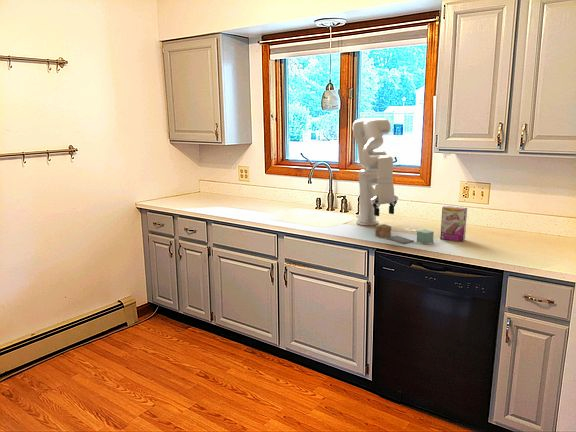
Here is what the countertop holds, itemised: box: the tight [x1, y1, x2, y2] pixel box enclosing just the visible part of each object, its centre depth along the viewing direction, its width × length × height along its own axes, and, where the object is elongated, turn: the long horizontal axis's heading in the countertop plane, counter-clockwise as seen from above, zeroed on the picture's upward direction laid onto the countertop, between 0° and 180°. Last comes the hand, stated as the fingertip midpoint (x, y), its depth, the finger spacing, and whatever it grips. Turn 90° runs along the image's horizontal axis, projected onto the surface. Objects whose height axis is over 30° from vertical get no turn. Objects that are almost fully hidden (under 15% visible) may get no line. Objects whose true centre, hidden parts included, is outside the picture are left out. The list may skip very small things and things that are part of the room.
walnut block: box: [374, 223, 392, 239], centre depth 243 cm, size 6×6×6 cm
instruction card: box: [403, 227, 418, 232], centre depth 256 cm, size 6×4×1 cm, turn 30°
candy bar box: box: [439, 205, 468, 243], centre depth 234 cm, size 11×5×16 cm, turn 59°
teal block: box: [416, 229, 434, 245], centre depth 231 cm, size 6×6×6 cm
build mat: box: [386, 235, 415, 245], centre depth 235 cm, size 12×7×1 cm, turn 30°
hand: (384, 214), depth 241 cm, fingers open, 9 cm apart
